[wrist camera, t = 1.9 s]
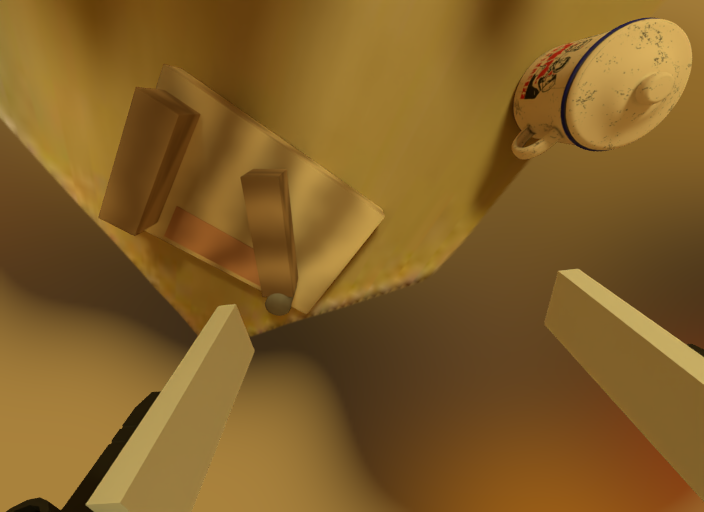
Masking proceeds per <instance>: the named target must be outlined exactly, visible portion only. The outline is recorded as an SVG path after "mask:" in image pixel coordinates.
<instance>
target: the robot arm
mask: <svg viewBox="0 0 704 512" xmlns="http://www.w3.org/2000/svg"><path fill="white" fill-rule="evenodd" d="M544 324H545V326H546V327H547V328H548V329H549V330H550V331H551V332H552V333H553V335H554V336H555V337H556V338H557V339H558V340H559V341H560V342H561V343H562V345H563V346H564V347H565V348H566V349H567V350H568V351H569V352H570V353H571V355H572V356H573V357H574V358H575V359H576V360H577V361H578V362H579V363H580V365H582V367H583V368H584V369H585V370H586V371H587V372H588V373H589V375H590V376H591V377H592V378H593V379H594V380H595V381H596V382H597V383H598V385H599V386H600V387H601V388H602V389H603V390H604V391H605V392H606V394H607V395H608V396H609V397H610V398H611V399H612V400H613V401H614V402H615V403H616V405H617V406H618V407H619V408H620V409H621V410H622V411H623V412H624V414H625V415H626V416H627V417H628V418H629V419H630V420H631V421H632V422H633V424H634V425H636V427H637V428H638V429H639V430H640V431H641V432H642V433H643V435H644V436H645V437H646V438H647V439H648V440H649V441H650V442H651V444H652V445H654V447H655V448H656V449H657V450H658V451H659V452H660V453H661V455H662V456H663V457H664V458H665V459H666V460H667V461H668V462H669V464H670V465H671V466H672V467H673V468H674V469H675V470H676V471H677V472H678V473H679V475H680V476H681V477H682V478H683V479H684V480H685V481H686V482H687V484H688V485H689V486H690V487H691V488H692V489H693V490H694V491H695V492H696V494H697V495H698V496H699V497H700V498H701V499H702V500H703V501H704V349H701V348H699V347H697V346H695V345H693V344H687V345H686V344H684V343H683V342H681V341H680V340H679V339H677V338H676V337H674V336H673V335H672V334H670V333H669V332H667V331H666V330H664V329H663V328H662V327H660V326H659V325H657V324H656V323H654V322H653V321H652V320H650V319H649V318H647V317H646V316H644V315H643V314H642V313H640V312H639V311H637V310H636V309H635V308H633V307H632V306H630V305H629V304H627V303H626V302H624V301H623V300H622V299H620V298H619V297H617V296H616V295H615V294H613V293H611V292H610V291H609V290H607V289H606V288H605V287H603V286H602V285H600V284H599V283H597V282H596V281H595V280H593V279H592V278H590V277H589V276H588V275H586V274H585V273H583V272H582V271H581V270H579V269H572V270H563V271H558V273H557V277H556V281H555V285H554V288H553V292H552V296H551V300H550V303H549V307H548V311H547V314H546V318H545V322H544ZM253 354H254V348H253V346H252V343H251V341H250V338H249V335H248V333H247V330H246V328H245V325H244V323H243V320H242V318H241V315H240V313H239V310H238V308H237V305H236V304H231V305H222V306H218V307H217V309H216V310H215V312H214V313H213V315H212V316H211V318H210V319H209V321H208V322H207V324H206V325H205V327H204V328H203V330H202V331H201V333H200V334H199V336H198V337H197V339H196V340H195V342H194V343H193V345H192V346H191V348H190V349H189V351H188V352H187V354H186V355H185V357H184V358H183V360H182V361H181V363H180V364H179V366H178V367H177V369H176V370H175V371H174V373H173V374H172V376H171V377H170V379H169V380H168V382H167V383H166V385H165V387H164V388H163V389H162V391H161V392H152V393H151V394H150V395H149V396H147V397H146V398H145V399H144V400H143V401H142V402H141V403H140V404H139V405H138V406H137V407H135V409H134V410H133V411H132V413H131V414H130V416H129V417H128V418H127V420H126V421H125V423H124V424H123V428H122V429H120V430H119V431H118V432H117V434H116V435H115V437H114V438H113V440H112V443H111V444H109V445H108V447H107V448H106V449H105V450H104V452H103V453H102V455H101V456H100V457H99V459H98V460H97V462H96V463H95V464H94V466H93V467H92V469H91V470H90V471H89V473H88V474H87V476H86V477H85V478H84V480H83V481H82V482H81V484H80V485H79V487H78V488H77V490H76V491H75V492H74V494H73V495H72V496H71V498H70V499H69V501H68V502H67V503H66V505H65V506H64V507H63V509H62V510H59V509H58V508H57V507H55V506H54V505H52V504H51V503H50V502H48V501H47V500H44V499H42V498H35V499H30V500H26V501H24V502H22V503H20V504H18V505H16V506H14V507H12V508H11V509H9V510H8V511H6V512H191V511H192V509H193V506H194V504H195V501H196V499H197V496H198V494H199V491H200V489H201V486H202V483H203V480H204V478H205V476H206V473H207V471H208V468H209V466H210V463H211V460H212V458H213V456H214V453H215V450H216V447H217V445H218V443H219V440H220V438H221V435H222V433H223V430H224V428H225V425H226V423H227V420H228V417H229V414H230V412H231V410H232V407H233V404H234V402H235V400H236V397H237V394H238V392H239V389H240V387H241V384H242V382H243V379H244V377H245V374H246V372H247V369H248V367H249V364H250V362H251V359H252V356H253Z"/></svg>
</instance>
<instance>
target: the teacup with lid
mask: <svg viewBox="0 0 704 512" xmlns="http://www.w3.org/2000/svg"><path fill="white" fill-rule="evenodd" d="M691 65H692V50H691V45H690V41H689V39H688V37H687V35H686V34H685V32H684V31H683V30H682V29H681V28H680V27H679V26H677V25H676V24H674V23H673V22H671V21H668V20H664V19H659V18H642V19H637V20H633V21H630V22H627V23H625V24H623V25H620V26H619V27H617V28H615V29H613V30H612V31H609V32H606V33H602V34H599V35H595V36H592V37H588V38H585V39H582V40H578V41H575V42H571V43H568V44H565V45H561V46H558V47H555V48H553V49H551V50H549V51H547V52H546V53H544V54H543V55H541V56H540V57H539V58H538V59H537V60H535V61H534V62H533V63H532V65H531V66H530V67H529V68H528V69H527V71H526V72H525V73H524V75H523V77H522V78H521V80H520V82H519V84H518V87H517V90H516V93H515V97H514V104H513V110H514V117H515V120H516V123H517V125H518V126H519V128H520V129H521V130H522V131H521V132H520V133H519V134H518V135H517V136H516V138H515V139H514V141H513V143H512V152H513V153H514V155H515V156H516V157H517V158H519V159H523V160H525V159H531V158H534V157H536V156H538V155H540V154H542V153H544V152H545V151H547V150H548V149H549V148H551V147H552V146H553V145H554V144H556V143H557V142H560V143H566V144H572V145H576V146H578V147H580V148H583V149H585V150H589V151H607V150H612V149H615V148H619V147H622V146H625V145H627V144H630V143H632V142H634V141H636V140H637V139H639V138H641V137H642V136H644V135H645V134H647V133H648V132H650V131H651V130H652V129H653V128H655V127H656V126H657V125H658V124H659V123H660V122H661V121H662V120H663V119H664V118H665V117H666V116H667V115H668V113H669V112H670V111H671V110H672V108H673V107H674V105H675V104H676V103H677V101H678V100H679V98H680V96H681V94H682V92H683V90H684V88H685V86H686V84H687V81H688V78H689V74H690V70H691ZM531 137H533V138H536V139H540V140H538V141H537V142H535V143H534V144H532V145H530V146H528V147H524V145H525V144H526V142H527V141H528V140H529V139H530V138H531ZM523 147H524V148H523Z"/></svg>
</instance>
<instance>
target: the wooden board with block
mask: <svg viewBox="0 0 704 512" xmlns="http://www.w3.org/2000/svg"><path fill="white" fill-rule="evenodd" d="M252 169H287V176H288V185H289V195H290V204H291V213H292V223H293V232H294V242H295V251H296V260H297V270H298V282H297V288H296V291H295V295H294V298H293V301H292V305H291V307H293V308H295V309H297V310H299V311H301V312H303V313H305V314H308V312H309V311H310V310H311V309H312V307H313V306H314V305H315V304H316V302H317V301H318V300H319V299H320V297H321V296H322V295H323V294H324V292H325V291H326V290H327V289H328V287H329V286H330V285H331V284H332V282H333V281H334V280H335V279H336V277H337V276H338V275H339V274H340V272H341V271H342V270H343V269H344V267H345V266H346V265H347V264H348V262H349V261H350V260H351V259H352V257H353V256H354V255H355V254H356V252H357V251H358V250H359V249H360V247H361V246H362V245H363V243H364V242H365V241H366V240H367V238H368V237H369V236H370V235H371V233H372V232H373V231H374V230H375V228H376V227H377V226H378V225H379V223H380V222H381V221H382V220H383V218H384V217H385V216H384V213H383V210H382V208H380V207H379V206H377V205H376V204H375V203H373V202H372V201H370V200H369V199H367V198H366V197H365V196H363V195H362V194H360V193H359V192H357V191H356V190H355V189H353V188H352V187H350V186H349V185H347V184H346V183H345V182H343V181H342V180H340V179H339V178H337V177H336V176H335V175H333V174H332V173H330V172H329V171H327V170H326V169H325V168H323V167H322V166H320V165H319V164H317V163H316V162H315V161H313V160H312V159H310V158H309V157H307V156H306V155H304V154H303V153H302V152H300V151H299V150H297V149H296V148H294V147H293V146H292V145H290V144H289V143H287V142H286V141H284V140H283V139H282V138H280V137H279V136H277V135H276V134H274V133H273V132H272V131H270V130H269V129H267V128H266V127H264V126H263V125H262V124H260V123H259V122H257V121H256V120H254V119H253V118H252V117H250V116H249V115H247V114H246V113H244V112H243V111H242V110H240V109H239V108H237V107H236V106H234V105H233V104H232V103H230V102H229V101H227V100H226V99H224V98H223V97H222V96H220V95H219V94H217V93H216V92H214V91H213V90H212V89H210V88H209V87H207V86H206V85H204V84H203V83H202V82H200V81H199V80H197V79H196V78H194V77H193V76H192V75H190V74H189V73H187V72H186V71H184V70H183V69H182V68H178V67H174V66H170V65H166V64H163V68H162V71H161V74H160V77H159V80H158V83H157V86H156V89H151V88H141V87H136V89H135V92H134V96H133V99H132V103H131V106H130V109H129V113H128V116H127V120H126V123H125V127H124V130H123V134H122V137H121V141H120V144H119V148H118V151H117V155H116V158H115V162H114V165H113V168H112V172H111V175H110V179H109V182H108V186H107V189H106V193H105V196H104V200H103V203H102V207H101V210H100V214H99V217H98V218H100V219H102V220H104V221H106V222H108V223H110V224H112V225H114V226H116V227H118V228H120V229H122V230H124V231H126V232H128V233H130V234H131V235H133V236H136V235H137V234H139V233H141V232H142V231H146V232H148V233H150V234H152V235H154V236H156V237H158V238H160V239H161V240H163V241H165V242H167V243H169V244H171V245H173V246H175V247H177V248H179V249H181V250H183V251H185V252H187V253H189V254H191V255H192V256H194V257H196V258H198V259H200V260H202V261H204V262H206V263H208V264H210V265H212V266H214V267H216V268H218V269H220V270H221V271H223V272H225V273H227V274H229V275H231V276H233V277H235V278H237V279H239V280H241V281H243V282H245V283H247V284H249V285H251V286H252V287H254V288H256V289H258V290H260V291H261V286H260V281H259V275H258V270H257V265H256V259H255V254H254V248H253V243H252V238H251V232H250V227H249V222H248V216H247V211H246V205H245V200H244V195H243V189H242V184H241V179H240V177H241V176H243V175H244V174H246V173H247V172H249V171H251V170H252Z"/></svg>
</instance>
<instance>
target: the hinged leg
mask: <svg viewBox="0 0 704 512" xmlns="http://www.w3.org/2000/svg"><path fill="white" fill-rule="evenodd" d="M240 179H241V184H242V189H243V195H244V200H245V205H246V211H247V216H248V222H249V227H250V232H251V238H252V243H253V248H254V254H255V259H256V265H257V270H258V275H259V281H260V286H261V291H262V297H268V298H267V300H266V302H265V306H266V309H267V310H268V311H269V312H270V313H272V314H274V315H285V314H287V313H288V312H289V311H290V308H291V305H292V301H293V298H294V295H295V291H296V288H297V282H298V270H297V260H296V251H295V242H294V232H293V223H292V213H291V204H290V195H289V185H288V176H287V169H252V170H251V171H249V172H247V173H246V174H244V175H243V176H241V177H240Z"/></svg>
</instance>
